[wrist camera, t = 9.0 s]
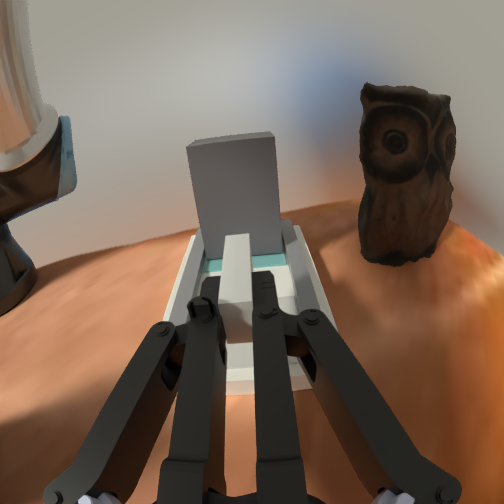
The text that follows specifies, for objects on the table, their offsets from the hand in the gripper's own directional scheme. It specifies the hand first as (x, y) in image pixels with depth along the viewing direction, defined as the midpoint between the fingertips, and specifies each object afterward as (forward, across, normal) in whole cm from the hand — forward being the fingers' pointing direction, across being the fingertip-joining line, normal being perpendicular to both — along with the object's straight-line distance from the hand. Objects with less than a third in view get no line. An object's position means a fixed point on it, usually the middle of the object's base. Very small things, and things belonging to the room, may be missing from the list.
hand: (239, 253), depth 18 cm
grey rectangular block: (+12, 0, -6) cm, 13 cm away
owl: (+14, +20, -8) cm, 25 cm away
